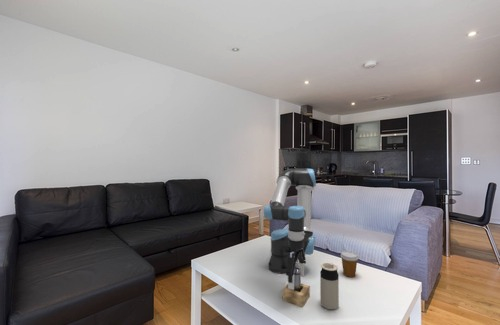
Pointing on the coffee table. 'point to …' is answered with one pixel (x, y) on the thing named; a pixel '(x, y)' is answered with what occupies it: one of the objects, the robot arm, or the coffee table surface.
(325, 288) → the travel mug
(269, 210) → the robot arm
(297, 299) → the square frame
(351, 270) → the disposable coffee cup
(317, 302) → the coffee table surface
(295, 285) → the metal canister
